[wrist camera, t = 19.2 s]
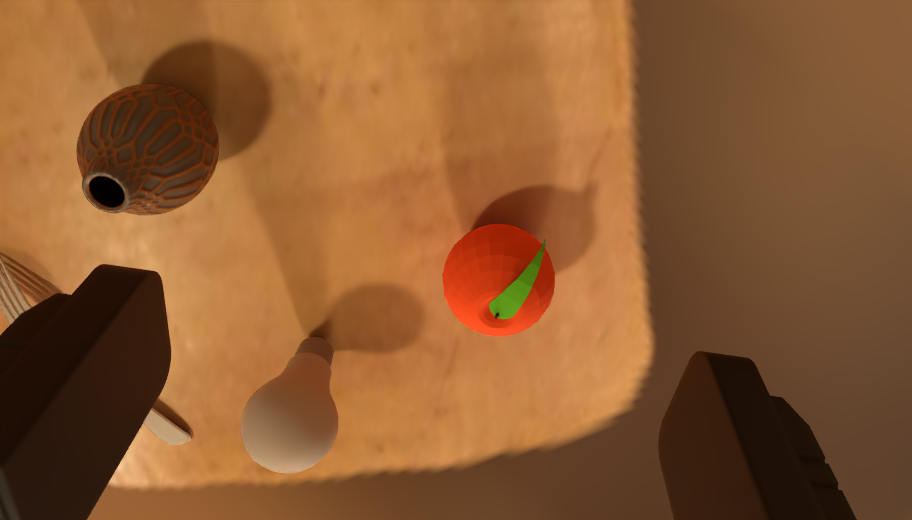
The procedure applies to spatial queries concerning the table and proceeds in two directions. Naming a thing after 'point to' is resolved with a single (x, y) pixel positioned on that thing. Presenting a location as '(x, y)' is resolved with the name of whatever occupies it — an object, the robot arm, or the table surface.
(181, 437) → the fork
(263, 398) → the lightbulb
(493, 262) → the clementine
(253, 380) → the table surface
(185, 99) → the vase
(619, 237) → the table surface
